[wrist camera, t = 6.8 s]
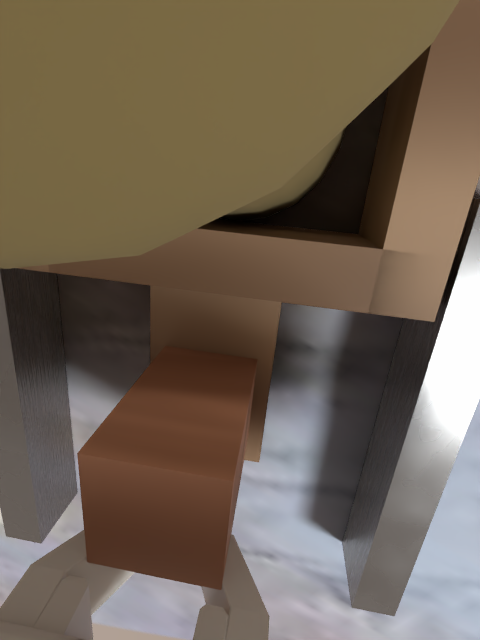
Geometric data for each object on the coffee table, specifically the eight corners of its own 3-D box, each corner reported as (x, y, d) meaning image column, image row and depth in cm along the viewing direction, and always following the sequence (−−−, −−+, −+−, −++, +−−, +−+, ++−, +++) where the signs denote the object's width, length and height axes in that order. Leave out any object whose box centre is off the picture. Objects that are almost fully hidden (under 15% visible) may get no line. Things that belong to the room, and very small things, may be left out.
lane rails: (2, 155, 11) (-72, 146, 9) (492, 203, 10) (553, 206, 8) (46, 486, 16) (5, 536, 14) (377, 549, 15) (394, 616, 13)
